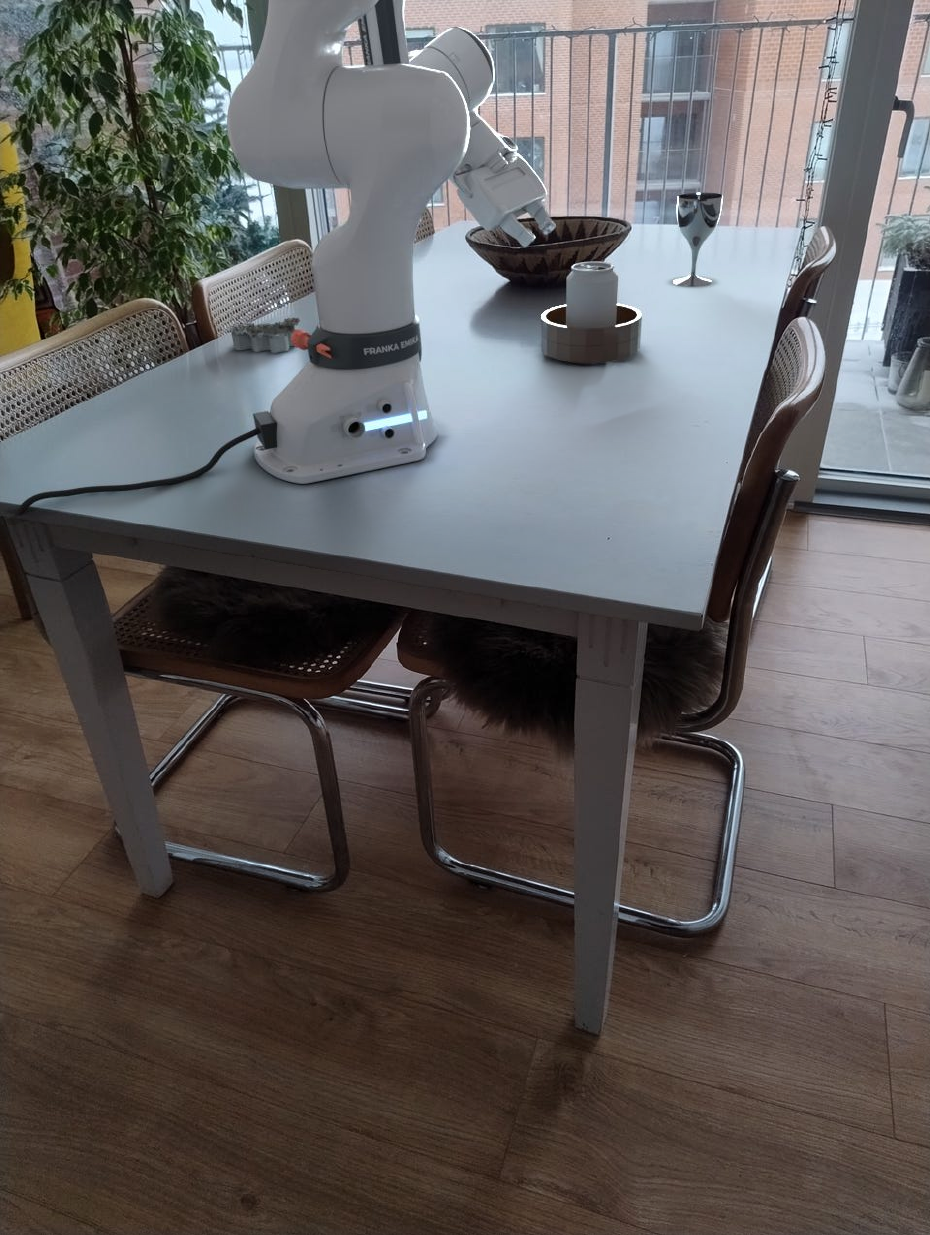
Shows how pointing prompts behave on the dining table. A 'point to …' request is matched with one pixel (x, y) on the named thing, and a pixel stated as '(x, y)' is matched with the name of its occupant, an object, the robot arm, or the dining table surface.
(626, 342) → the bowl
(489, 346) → the dining table surface
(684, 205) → the silver goblet
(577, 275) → the can
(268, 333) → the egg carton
